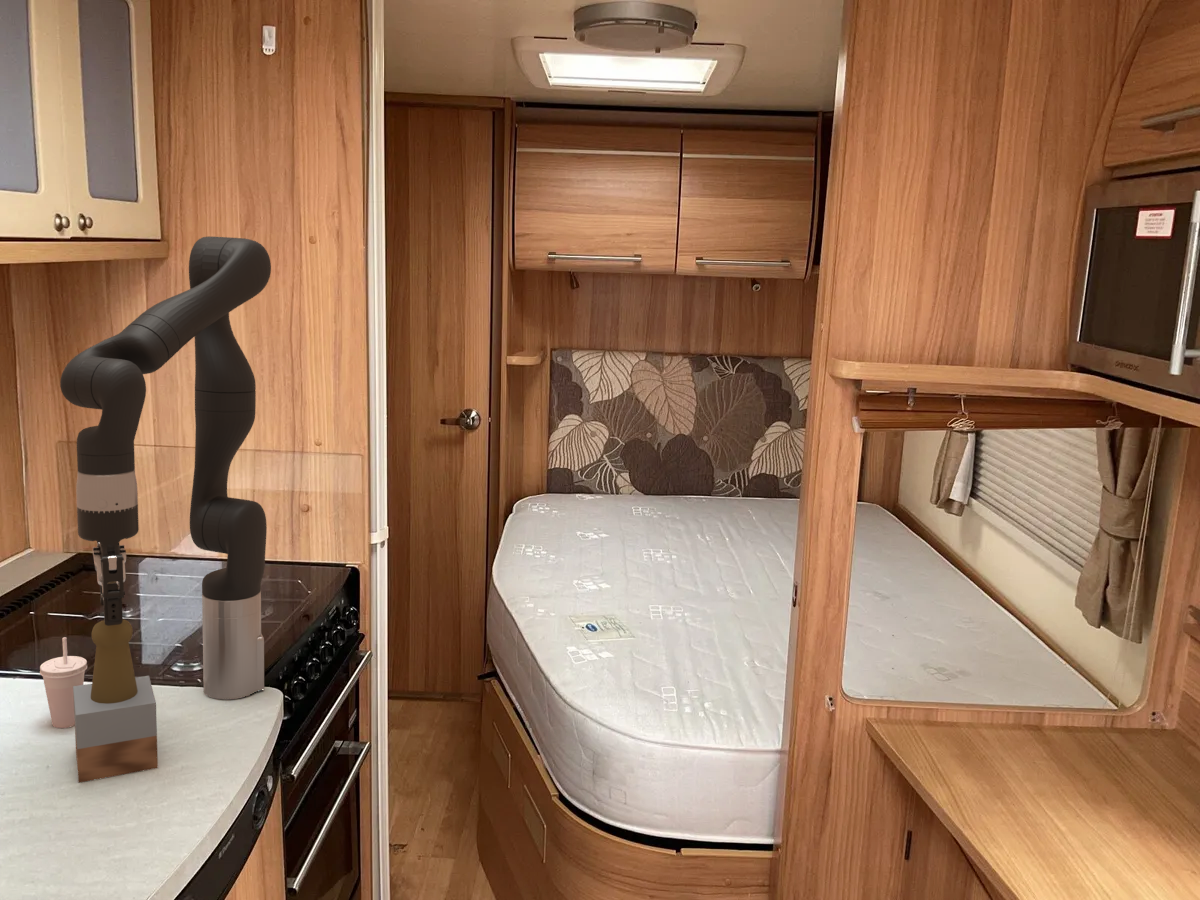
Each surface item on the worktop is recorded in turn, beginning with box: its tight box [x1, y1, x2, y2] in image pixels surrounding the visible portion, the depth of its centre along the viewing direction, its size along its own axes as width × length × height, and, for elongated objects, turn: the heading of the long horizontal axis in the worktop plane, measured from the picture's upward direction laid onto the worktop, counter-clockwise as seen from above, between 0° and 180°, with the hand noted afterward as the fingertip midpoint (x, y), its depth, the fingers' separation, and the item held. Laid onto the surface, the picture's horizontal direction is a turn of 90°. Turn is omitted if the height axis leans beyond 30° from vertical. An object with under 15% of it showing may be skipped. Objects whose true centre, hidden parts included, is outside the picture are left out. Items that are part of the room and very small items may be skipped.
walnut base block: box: [74, 729, 159, 784], centre depth 140 cm, size 10×10×5 cm
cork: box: [91, 619, 138, 704], centre depth 138 cm, size 6×6×11 cm
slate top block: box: [73, 675, 158, 749], centre depth 139 cm, size 10×10×5 cm
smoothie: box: [39, 636, 88, 729], centre depth 149 cm, size 6×6×14 cm
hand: (111, 614), depth 137 cm, fingers open, 8 cm apart
